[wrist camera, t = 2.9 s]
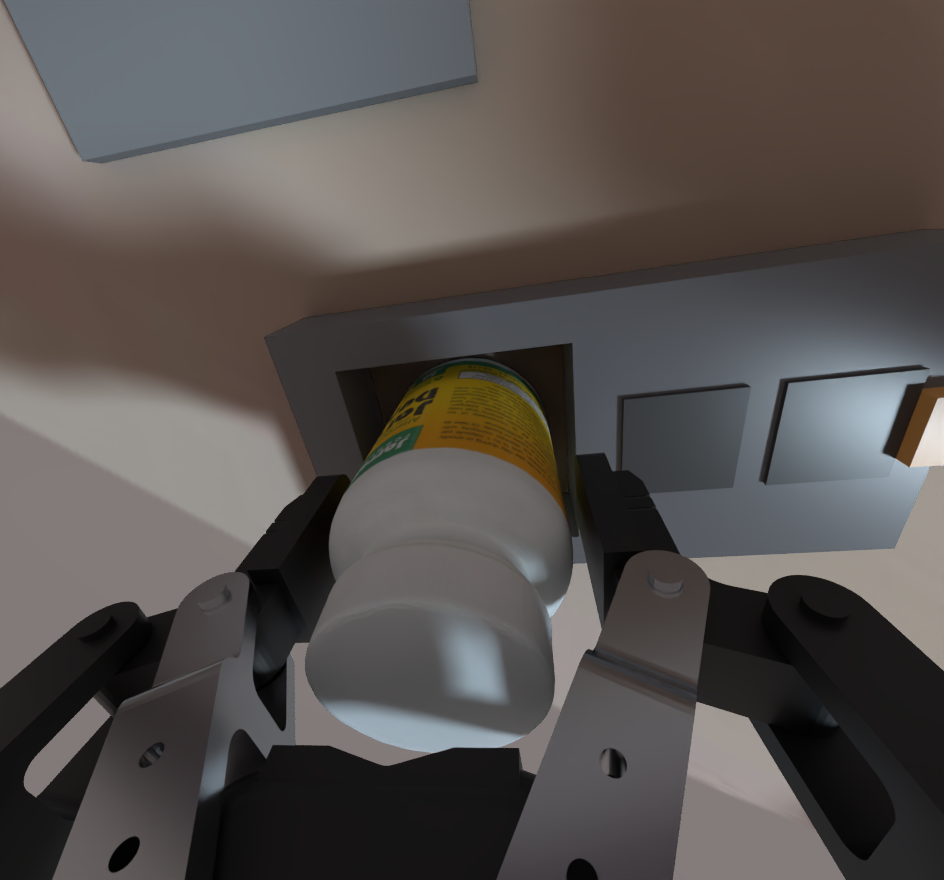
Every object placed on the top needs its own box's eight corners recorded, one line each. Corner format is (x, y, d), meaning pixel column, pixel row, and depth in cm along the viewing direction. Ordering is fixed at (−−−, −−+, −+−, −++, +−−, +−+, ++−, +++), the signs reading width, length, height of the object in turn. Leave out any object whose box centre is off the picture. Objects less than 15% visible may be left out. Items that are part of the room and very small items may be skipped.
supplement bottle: (500, 506, 17) (491, 806, 8) (378, 448, 16) (226, 714, 7) (578, 399, 14) (681, 667, 6) (438, 322, 13) (315, 504, 5)
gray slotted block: (928, 228, 11) (1066, 232, 8) (838, 500, 15) (910, 562, 12) (304, 318, 13) (252, 343, 11) (374, 529, 18) (349, 586, 15)
